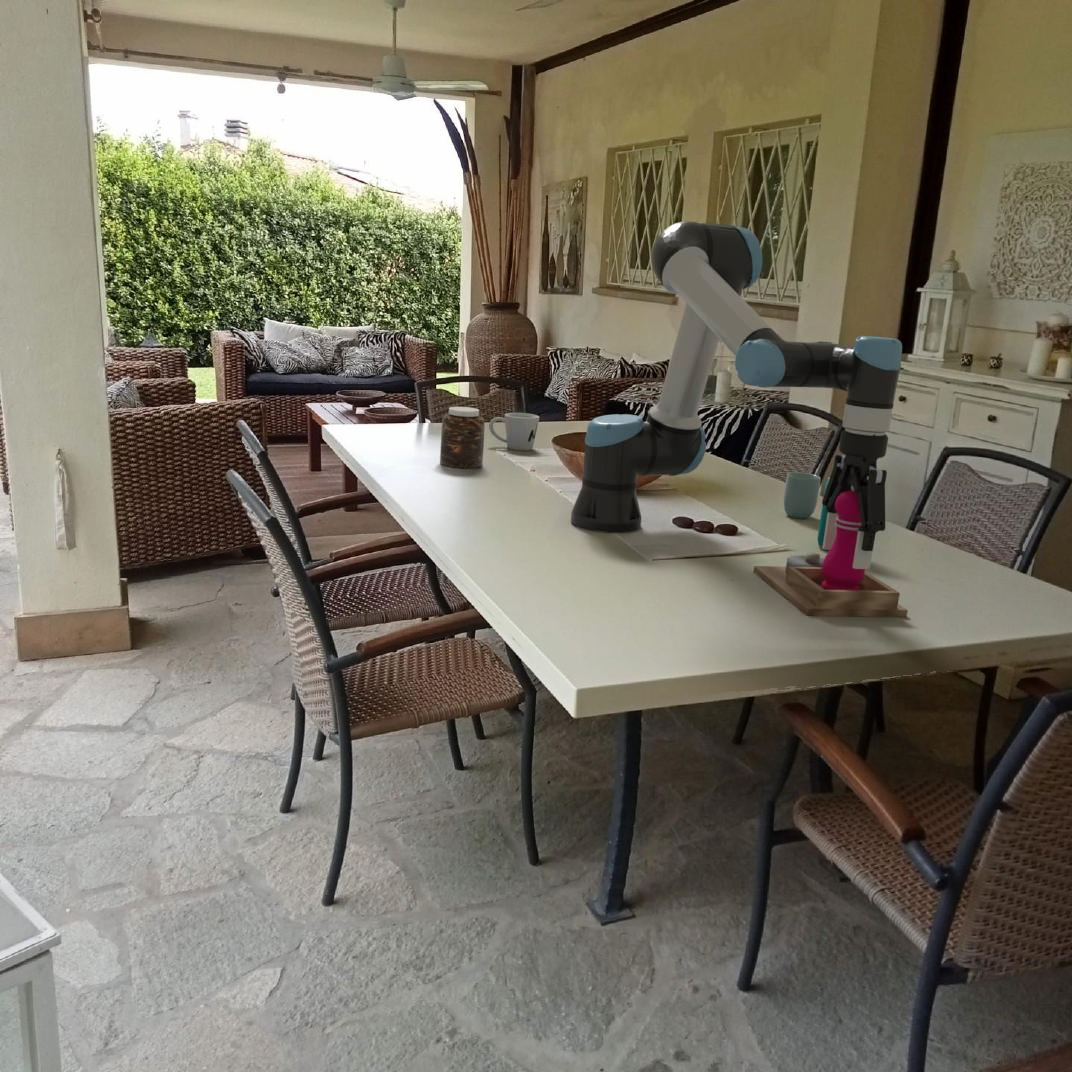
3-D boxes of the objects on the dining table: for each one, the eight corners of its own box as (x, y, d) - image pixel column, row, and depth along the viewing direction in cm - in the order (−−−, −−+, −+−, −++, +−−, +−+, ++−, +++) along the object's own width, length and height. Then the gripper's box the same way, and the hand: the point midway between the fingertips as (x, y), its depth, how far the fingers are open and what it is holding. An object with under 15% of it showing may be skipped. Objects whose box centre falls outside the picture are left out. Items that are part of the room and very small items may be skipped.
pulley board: (806, 615, 165) (810, 585, 163) (753, 572, 188) (756, 545, 186) (906, 616, 168) (911, 587, 166) (842, 573, 191) (846, 547, 189)
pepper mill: (811, 587, 176) (828, 476, 171) (850, 590, 177) (869, 479, 172) (826, 600, 169) (844, 484, 164) (867, 602, 170) (886, 487, 165)
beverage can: (844, 547, 211) (855, 478, 207) (843, 554, 205) (855, 483, 201) (817, 543, 212) (827, 474, 208) (815, 549, 207) (825, 479, 203)
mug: (536, 452, 295) (539, 419, 292) (486, 448, 294) (488, 415, 292) (537, 446, 305) (539, 414, 302) (488, 443, 305) (490, 410, 302)
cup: (815, 522, 232) (822, 480, 229) (781, 518, 233) (787, 476, 231) (813, 515, 239) (819, 474, 237) (780, 511, 241) (786, 470, 238)
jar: (491, 465, 271) (494, 410, 267) (466, 470, 261) (469, 413, 257) (456, 458, 277) (459, 404, 273) (430, 463, 267) (433, 407, 263)
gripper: (923, 444, 155) (899, 579, 160) (853, 421, 177) (835, 540, 183) (878, 442, 153) (856, 578, 159) (814, 419, 176) (796, 539, 181)
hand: (845, 558), depth 171 cm, fingers open, 11 cm apart
